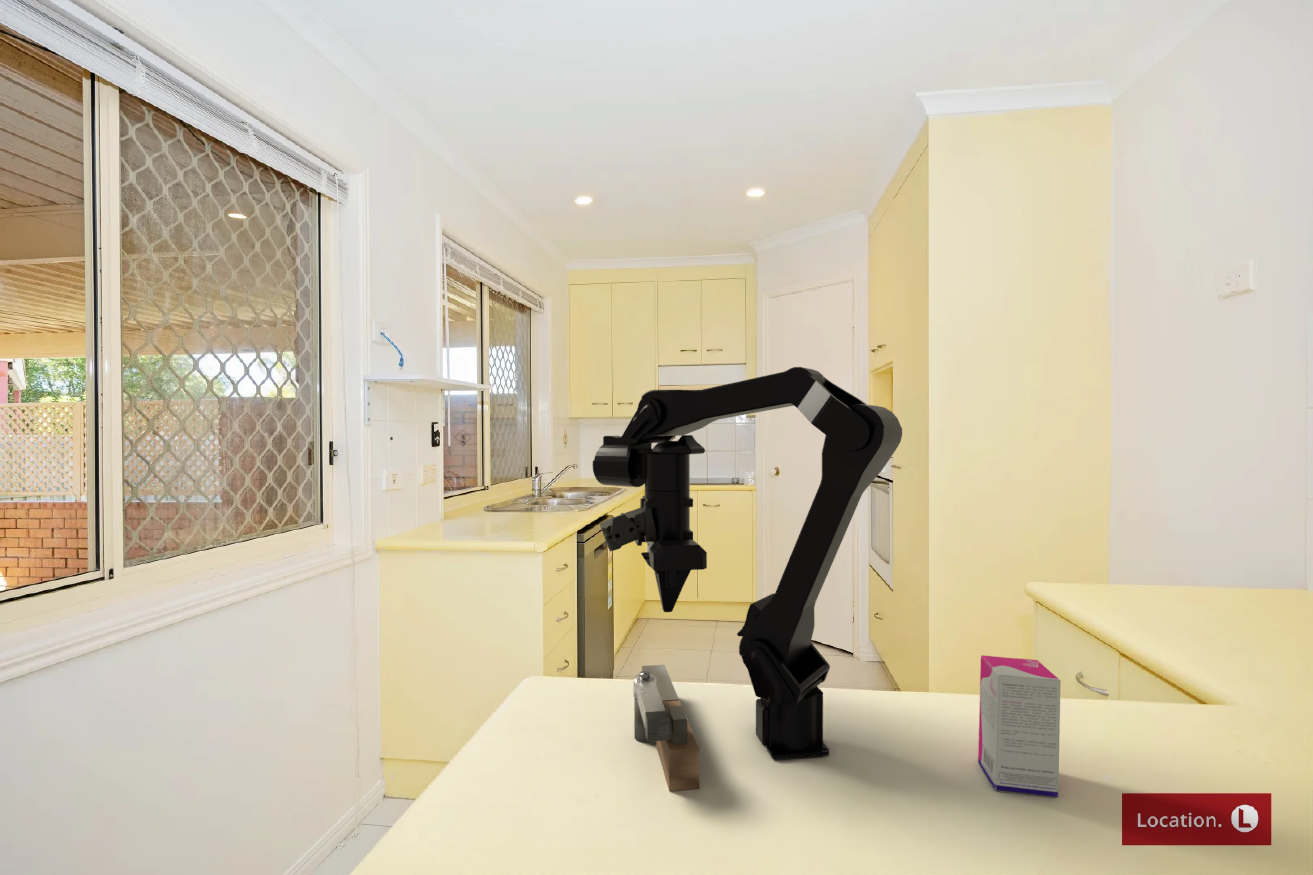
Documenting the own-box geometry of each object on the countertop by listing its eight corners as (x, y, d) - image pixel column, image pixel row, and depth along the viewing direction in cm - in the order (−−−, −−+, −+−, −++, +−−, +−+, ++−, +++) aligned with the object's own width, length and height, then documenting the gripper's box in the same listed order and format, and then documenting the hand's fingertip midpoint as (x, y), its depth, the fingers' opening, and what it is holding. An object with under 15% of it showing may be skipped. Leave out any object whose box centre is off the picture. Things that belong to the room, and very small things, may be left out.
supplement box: (1061, 798, 60) (1062, 679, 60) (994, 791, 61) (994, 674, 61) (1037, 766, 66) (1038, 657, 65) (976, 760, 67) (976, 653, 67)
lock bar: (632, 692, 73) (632, 669, 73) (654, 690, 73) (654, 667, 73) (645, 741, 61) (645, 714, 61) (671, 739, 62) (671, 712, 62)
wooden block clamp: (664, 694, 83) (664, 645, 83) (699, 788, 62) (699, 722, 62) (625, 696, 83) (625, 647, 83) (646, 792, 61) (646, 726, 61)
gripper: (599, 484, 88) (599, 594, 88) (609, 498, 69) (610, 638, 70) (677, 482, 90) (677, 591, 90) (707, 496, 71) (708, 633, 71)
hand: (667, 611), depth 80 cm, fingers closed
